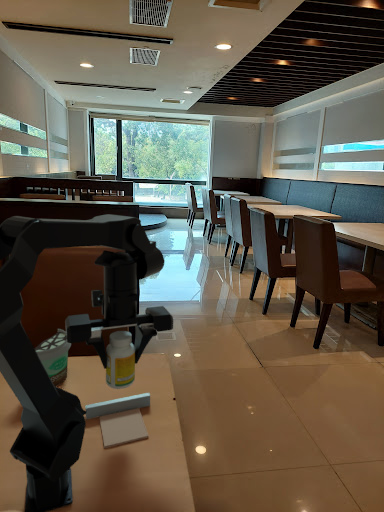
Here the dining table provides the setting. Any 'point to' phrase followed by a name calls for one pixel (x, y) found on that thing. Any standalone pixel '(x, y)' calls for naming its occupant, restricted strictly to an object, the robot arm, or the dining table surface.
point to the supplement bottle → (120, 360)
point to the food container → (55, 356)
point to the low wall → (117, 405)
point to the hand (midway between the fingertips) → (120, 365)
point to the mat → (122, 427)
